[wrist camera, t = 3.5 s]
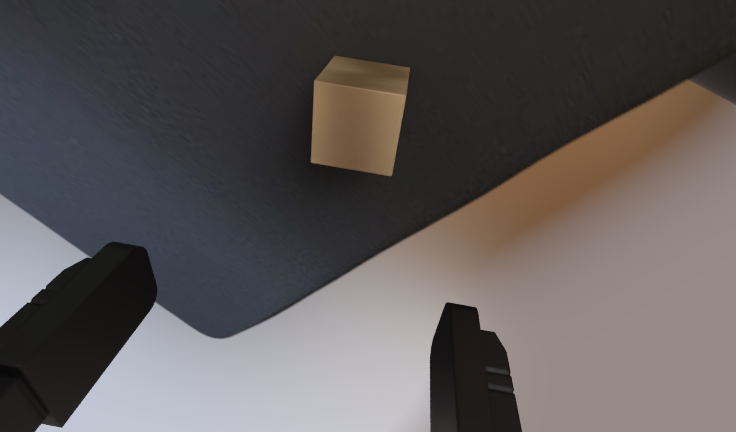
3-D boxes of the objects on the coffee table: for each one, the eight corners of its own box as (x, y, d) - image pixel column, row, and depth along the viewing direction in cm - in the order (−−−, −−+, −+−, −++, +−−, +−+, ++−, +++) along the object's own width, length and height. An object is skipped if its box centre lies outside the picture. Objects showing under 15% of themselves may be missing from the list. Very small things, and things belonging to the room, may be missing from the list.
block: (410, 67, 22) (406, 95, 18) (397, 138, 25) (391, 177, 21) (334, 55, 22) (313, 80, 18) (329, 127, 25) (310, 163, 21)
